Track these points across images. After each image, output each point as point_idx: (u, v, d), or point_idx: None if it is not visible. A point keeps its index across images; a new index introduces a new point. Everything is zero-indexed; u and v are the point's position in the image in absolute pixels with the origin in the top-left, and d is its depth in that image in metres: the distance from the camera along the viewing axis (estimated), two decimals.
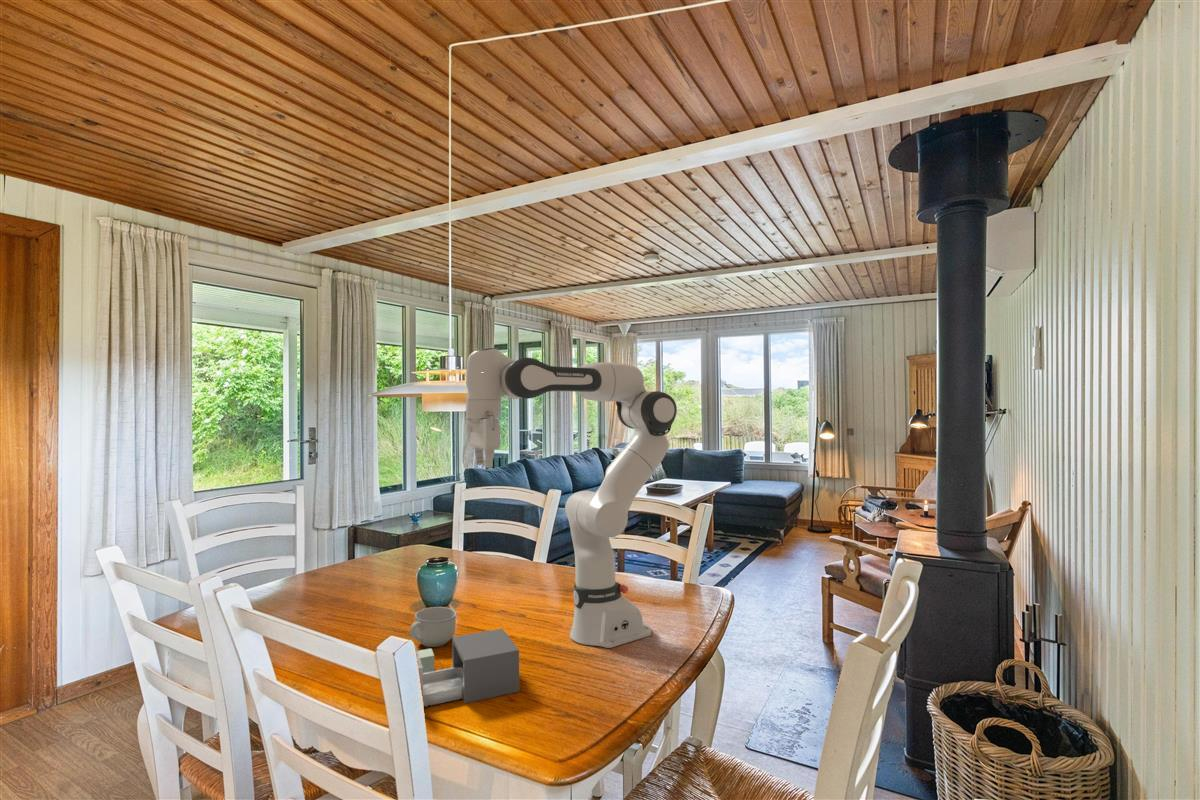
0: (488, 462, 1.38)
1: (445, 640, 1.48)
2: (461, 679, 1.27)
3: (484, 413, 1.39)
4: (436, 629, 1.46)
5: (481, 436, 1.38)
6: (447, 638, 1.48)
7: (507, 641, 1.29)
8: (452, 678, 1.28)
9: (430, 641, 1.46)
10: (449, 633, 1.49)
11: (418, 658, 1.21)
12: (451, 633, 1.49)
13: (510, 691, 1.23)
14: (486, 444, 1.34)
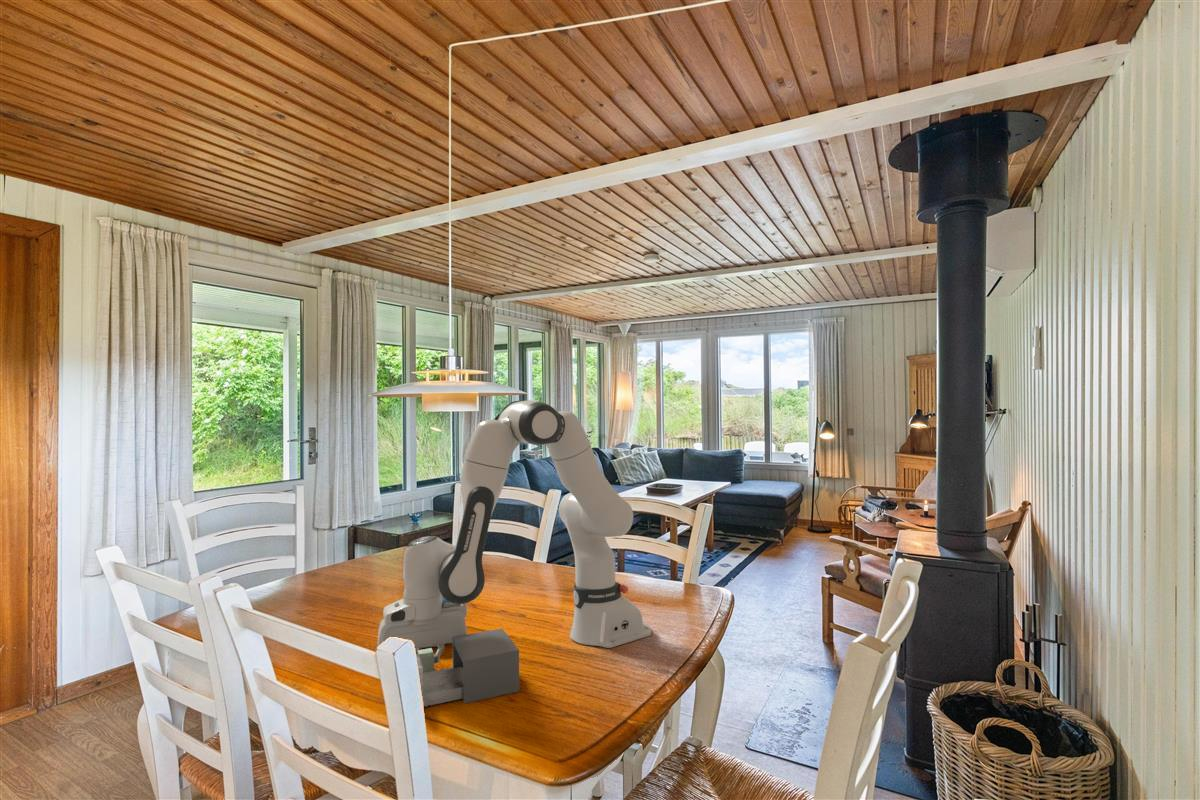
0: None
1: None
2: (461, 679, 1.27)
3: (441, 606, 1.35)
4: None
5: (446, 630, 1.35)
6: None
7: (507, 641, 1.29)
8: (452, 678, 1.28)
9: None
10: None
11: (418, 658, 1.21)
12: None
13: (510, 691, 1.23)
14: (465, 634, 1.36)
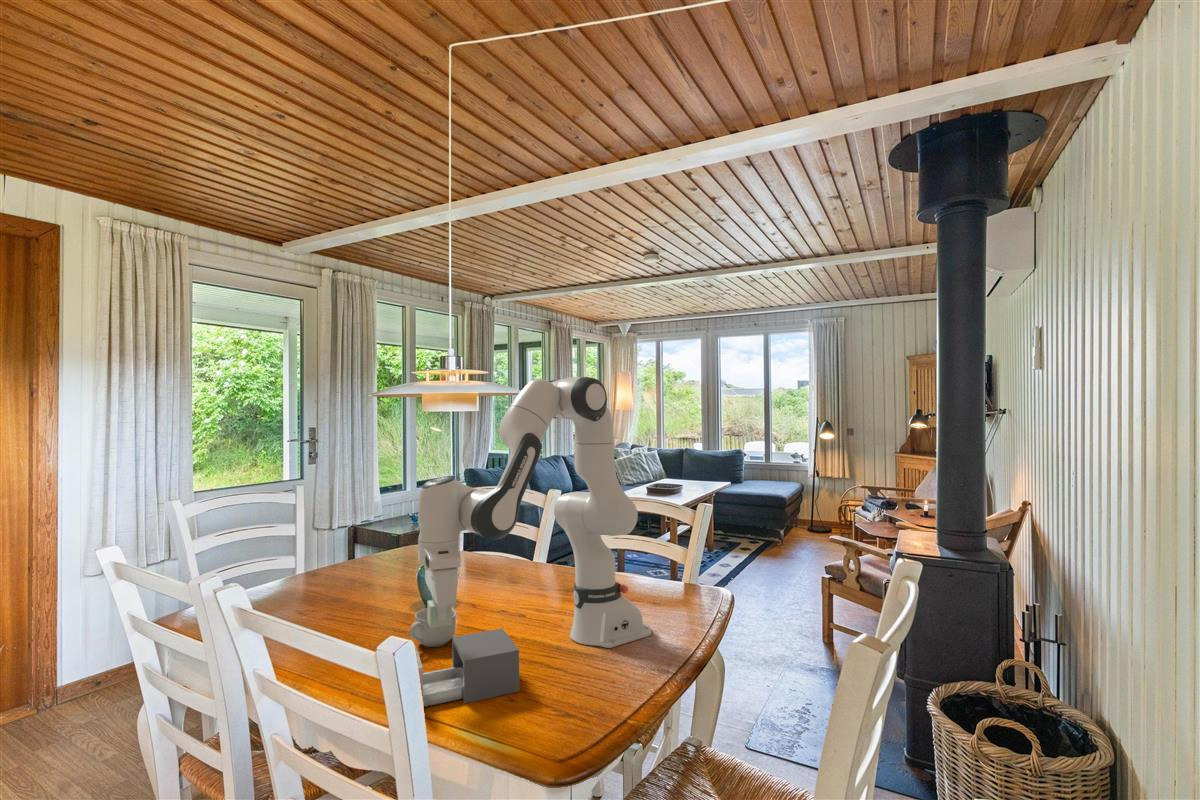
0: None
1: (445, 640, 1.48)
2: (461, 679, 1.27)
3: None
4: (436, 629, 1.46)
5: None
6: (447, 638, 1.48)
7: (507, 641, 1.29)
8: (452, 678, 1.28)
9: (430, 641, 1.46)
10: (449, 633, 1.49)
11: (418, 658, 1.21)
12: (451, 633, 1.49)
13: (510, 691, 1.23)
14: None
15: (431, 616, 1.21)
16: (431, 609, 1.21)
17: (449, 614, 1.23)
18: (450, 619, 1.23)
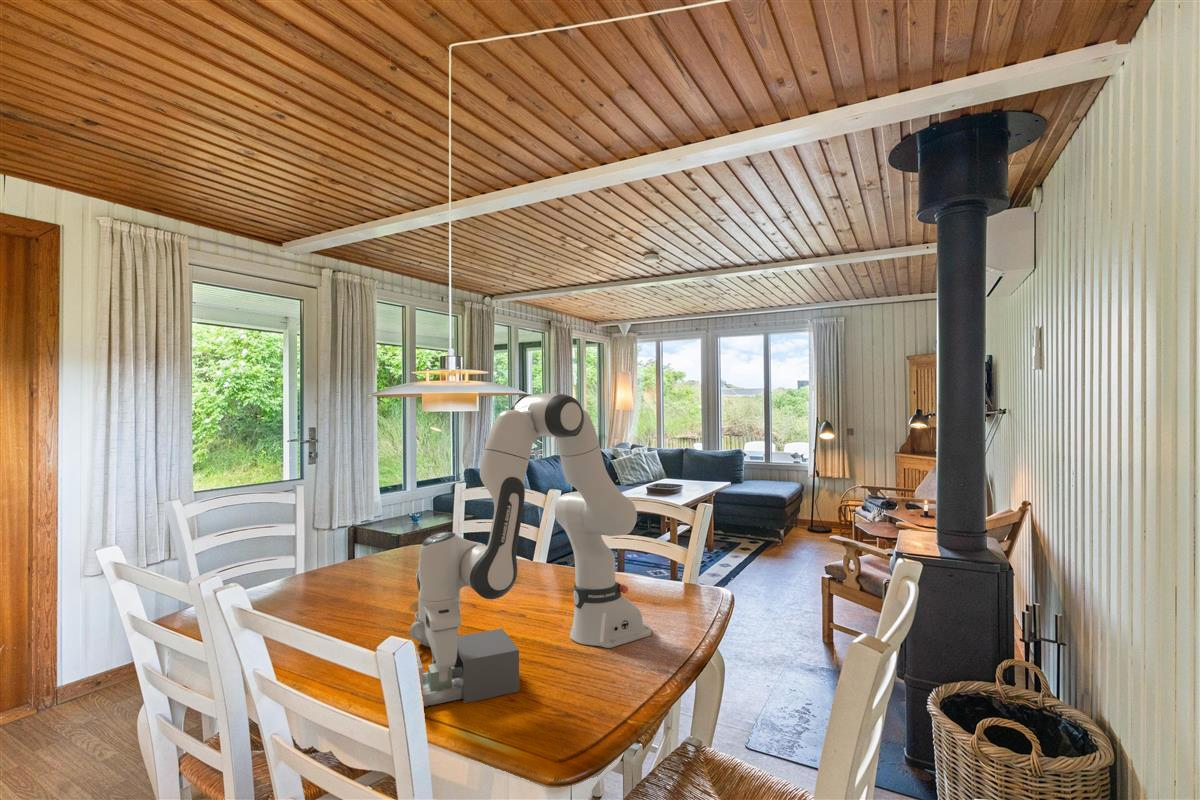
0: None
1: None
2: (461, 679, 1.27)
3: None
4: None
5: None
6: None
7: (507, 641, 1.29)
8: (452, 678, 1.28)
9: None
10: None
11: (418, 658, 1.21)
12: None
13: (510, 691, 1.23)
14: None
15: (431, 682, 1.21)
16: (431, 675, 1.21)
17: (450, 680, 1.23)
18: (451, 685, 1.23)
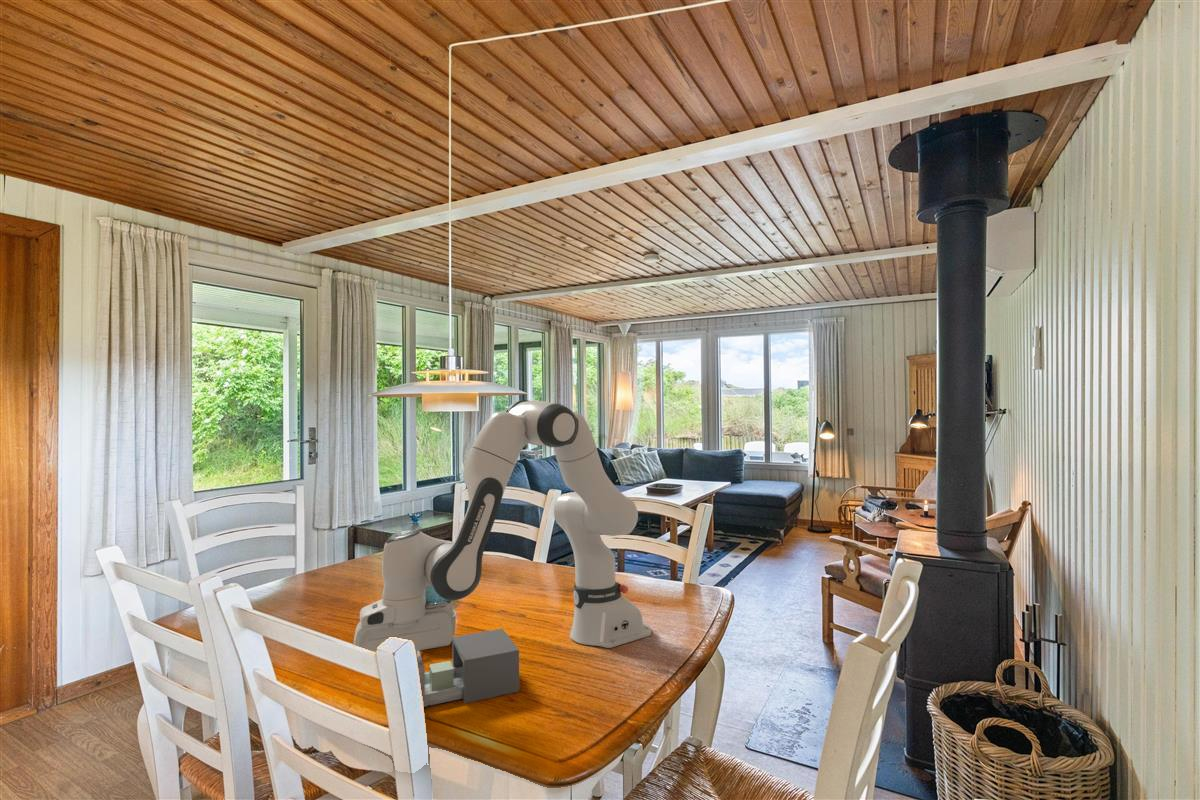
0: None
1: None
2: (462, 679, 1.28)
3: (425, 607, 1.22)
4: None
5: (430, 634, 1.22)
6: None
7: (507, 641, 1.29)
8: (454, 677, 1.28)
9: None
10: None
11: (420, 658, 1.21)
12: None
13: (510, 691, 1.23)
14: (451, 638, 1.24)
15: (433, 682, 1.21)
16: (433, 675, 1.21)
17: (451, 679, 1.23)
18: (452, 684, 1.23)
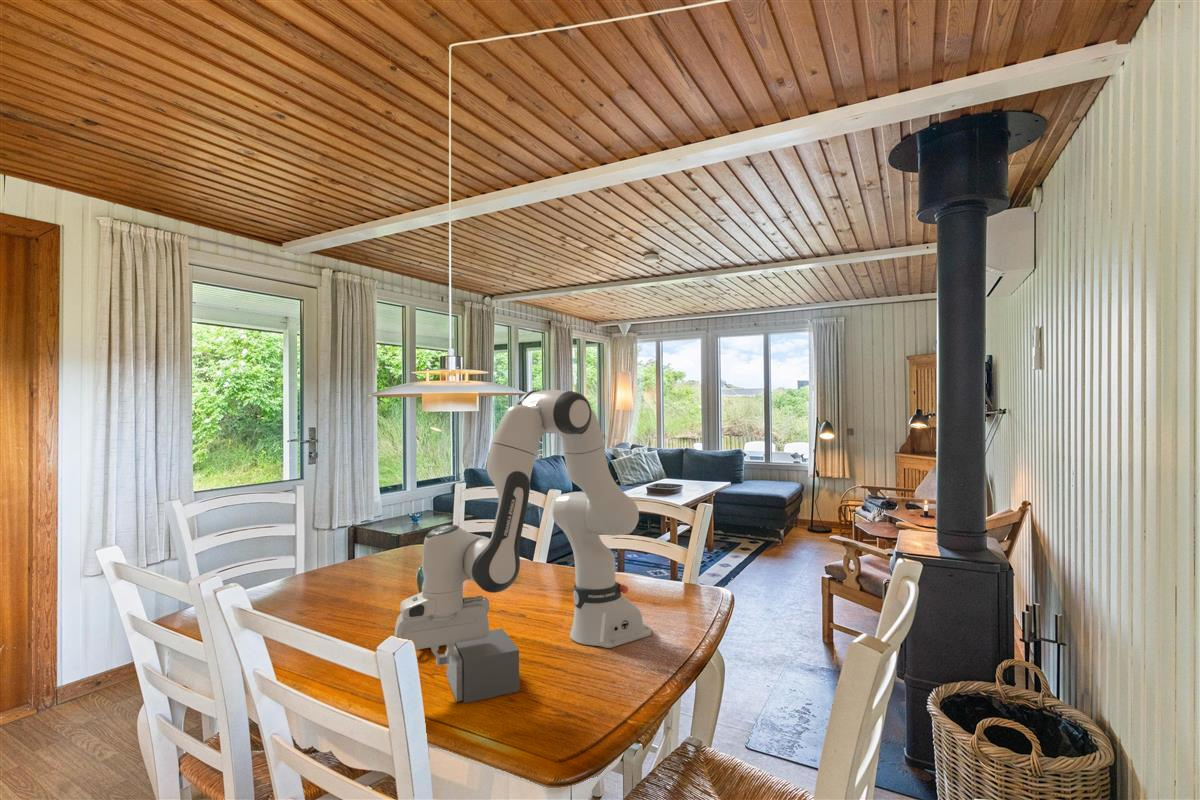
0: None
1: None
2: None
3: (463, 601, 1.26)
4: None
5: (467, 627, 1.25)
6: None
7: (507, 641, 1.29)
8: None
9: None
10: None
11: (456, 651, 1.24)
12: None
13: (510, 691, 1.23)
14: (488, 631, 1.27)
15: None
16: None
17: None
18: None
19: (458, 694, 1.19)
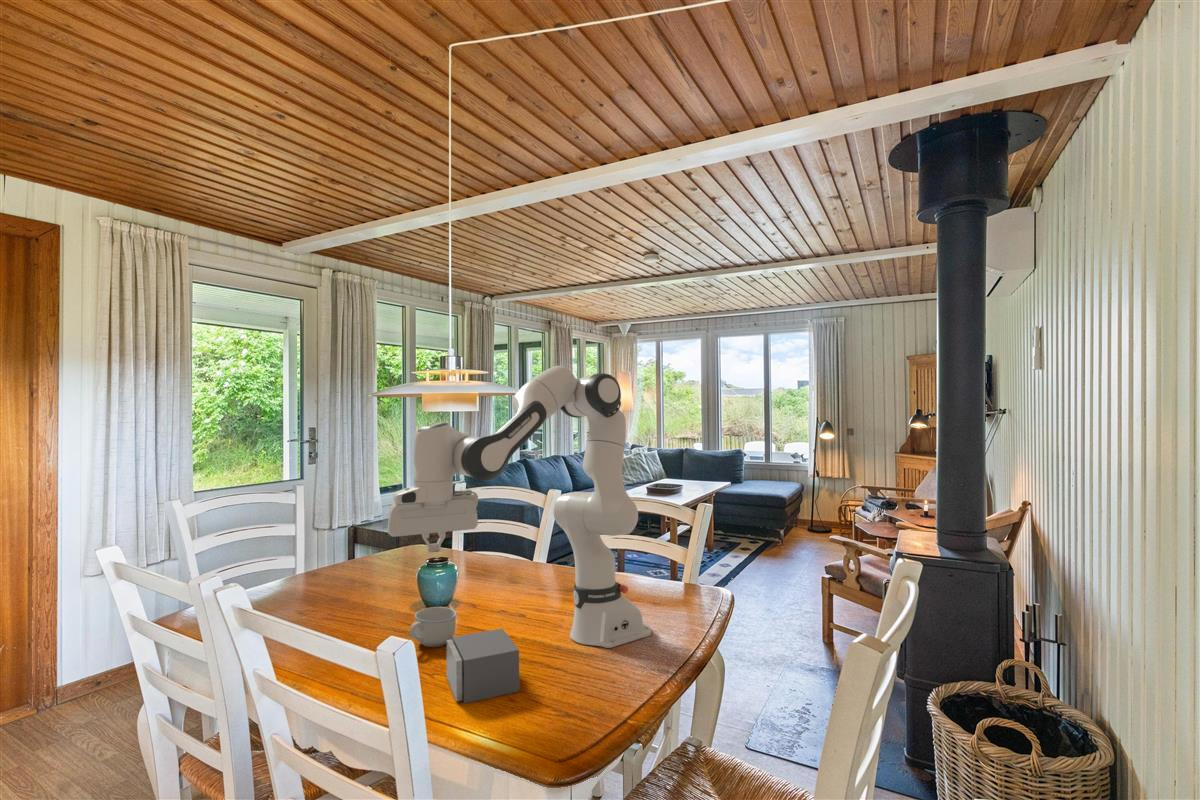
0: None
1: (445, 640, 1.48)
2: None
3: (452, 493, 1.33)
4: (436, 629, 1.46)
5: (457, 517, 1.32)
6: (447, 638, 1.48)
7: (507, 641, 1.29)
8: None
9: (430, 641, 1.46)
10: (449, 633, 1.49)
11: (456, 651, 1.24)
12: (451, 633, 1.49)
13: (510, 691, 1.23)
14: (476, 523, 1.34)
15: None
16: None
17: None
18: None
19: (458, 694, 1.19)
